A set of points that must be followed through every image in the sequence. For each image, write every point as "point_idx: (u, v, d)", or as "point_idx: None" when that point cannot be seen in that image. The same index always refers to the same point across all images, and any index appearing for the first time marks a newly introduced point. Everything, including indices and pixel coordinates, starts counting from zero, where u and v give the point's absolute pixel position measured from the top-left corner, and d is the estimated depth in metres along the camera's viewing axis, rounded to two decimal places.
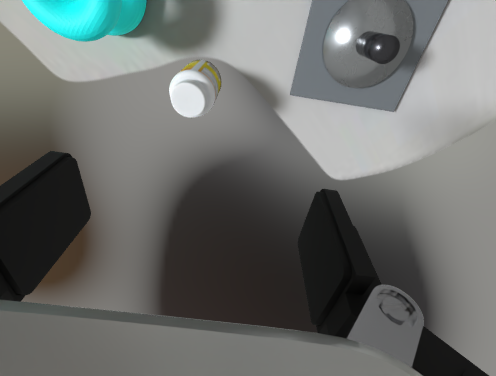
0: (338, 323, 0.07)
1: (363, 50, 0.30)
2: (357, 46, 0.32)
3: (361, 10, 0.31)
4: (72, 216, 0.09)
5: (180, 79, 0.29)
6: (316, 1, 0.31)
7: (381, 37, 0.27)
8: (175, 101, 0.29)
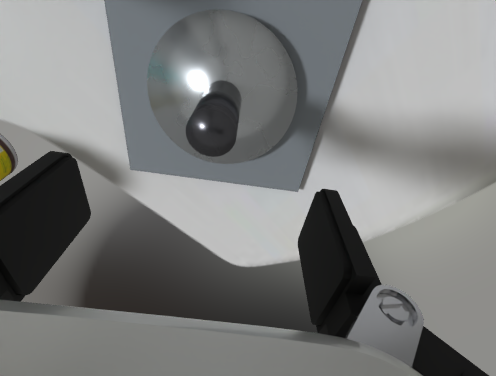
0: (338, 323, 0.07)
1: None
2: None
3: (195, 46, 0.17)
4: (72, 216, 0.09)
5: None
6: (115, 29, 0.17)
7: (196, 111, 0.14)
8: None
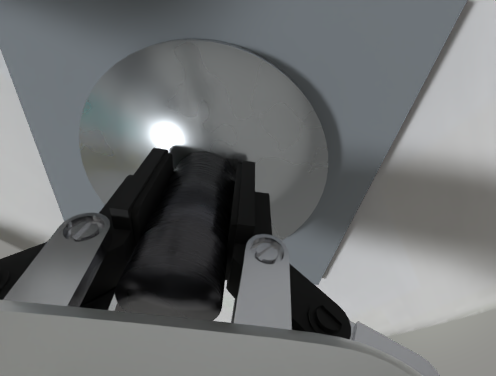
0: (230, 271, 0.08)
1: None
2: None
3: (153, 101, 0.10)
4: None
5: None
6: (19, 70, 0.10)
7: (133, 264, 0.06)
8: None
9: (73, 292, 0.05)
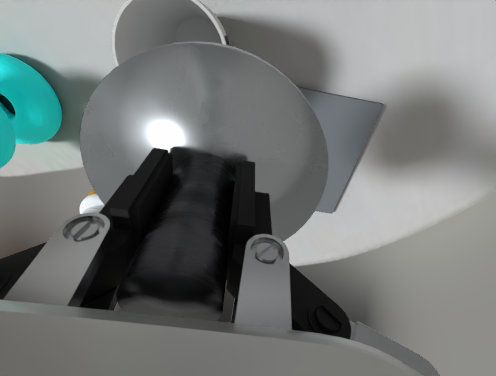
0: (230, 271, 0.08)
1: None
2: None
3: (154, 103, 0.10)
4: None
5: (88, 204, 0.28)
6: None
7: (135, 267, 0.06)
8: None
9: (73, 292, 0.05)
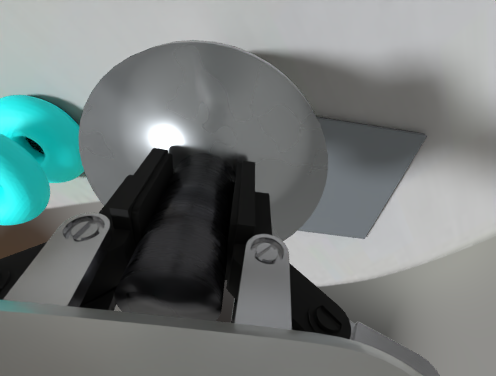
0: (230, 271, 0.08)
1: None
2: None
3: (153, 103, 0.10)
4: None
5: None
6: None
7: (133, 267, 0.06)
8: None
9: (73, 292, 0.05)
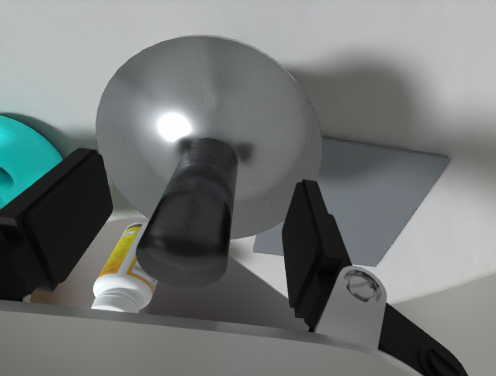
0: (311, 303, 0.07)
1: None
2: None
3: (164, 91, 0.11)
4: (98, 210, 0.10)
5: (103, 287, 0.24)
6: None
7: (152, 226, 0.07)
8: None
9: None
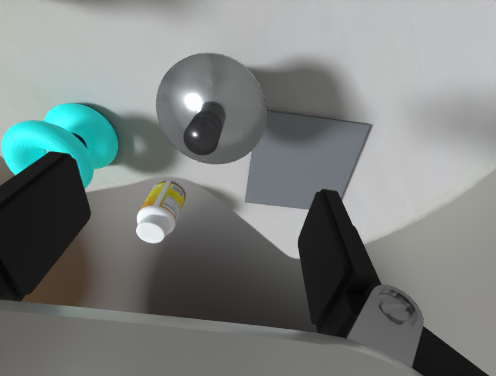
0: (338, 323, 0.07)
1: None
2: None
3: (189, 78, 0.23)
4: (72, 216, 0.09)
5: (144, 214, 0.36)
6: None
7: (189, 124, 0.20)
8: (140, 233, 0.36)
9: None
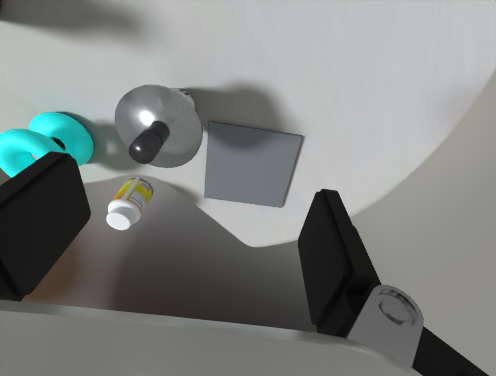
0: (338, 323, 0.07)
1: None
2: None
3: (139, 103, 0.31)
4: (72, 216, 0.09)
5: (113, 206, 0.43)
6: (209, 148, 0.45)
7: (133, 141, 0.27)
8: (110, 222, 0.43)
9: None
